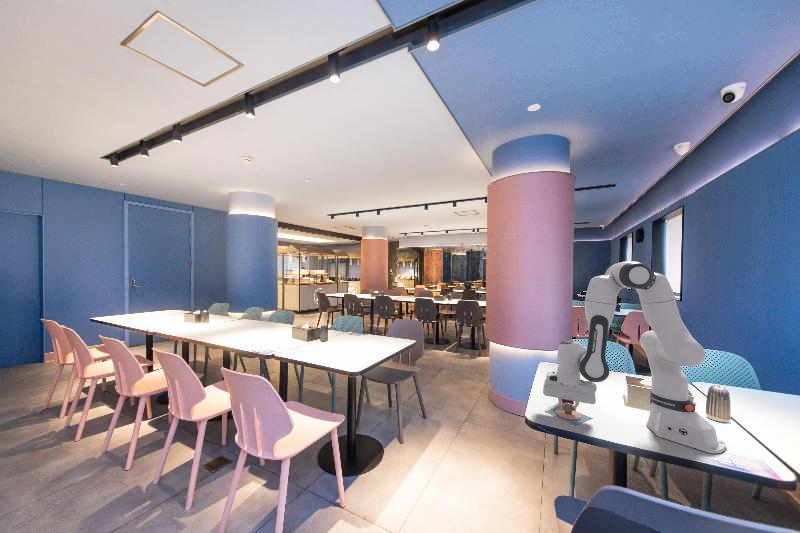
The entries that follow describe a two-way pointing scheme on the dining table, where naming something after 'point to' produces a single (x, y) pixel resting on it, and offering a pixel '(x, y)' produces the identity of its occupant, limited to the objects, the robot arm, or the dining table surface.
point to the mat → (583, 419)
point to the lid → (568, 413)
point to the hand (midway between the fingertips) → (568, 409)
